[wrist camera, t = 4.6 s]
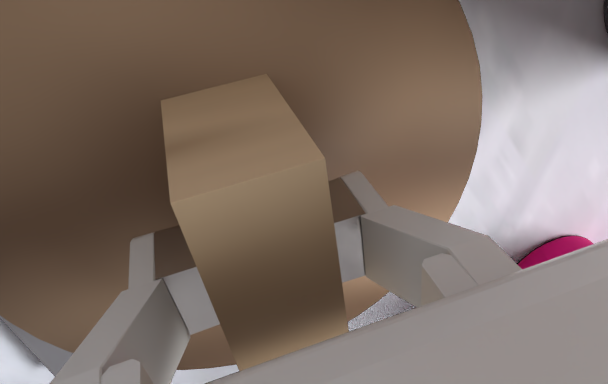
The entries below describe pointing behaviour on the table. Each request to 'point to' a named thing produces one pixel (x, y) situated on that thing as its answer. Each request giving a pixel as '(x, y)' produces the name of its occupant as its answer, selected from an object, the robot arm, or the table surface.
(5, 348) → the table surface
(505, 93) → the table surface
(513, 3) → the table surface
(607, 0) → the travel mug
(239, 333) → the lid
